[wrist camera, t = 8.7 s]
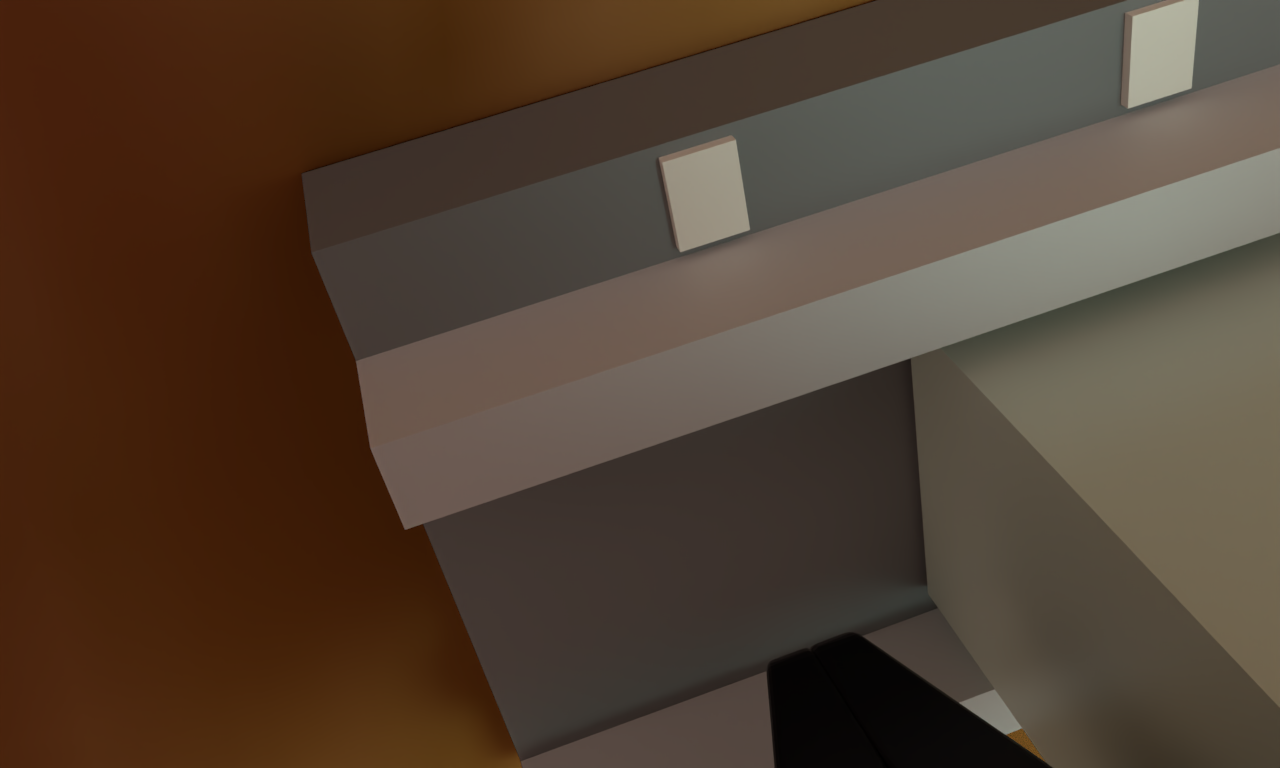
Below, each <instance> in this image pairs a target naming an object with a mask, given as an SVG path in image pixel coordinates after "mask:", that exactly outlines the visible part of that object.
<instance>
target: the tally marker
mask: <svg viewBox="0 0 1280 768" xmlns="http://www.w3.org/2000/svg"><path fill="white" fill-rule="evenodd" d="M911 368H912V382H913V396H914V409H915V423H916V437H917V451H918V464H919V478H920V492H921V505H922V519H923V533H924V546H925V560H926V574H927V587H928V594H929V596H930V597H931V599H932V600H933V601H934V603H935V604H936V606H937V607H938V609H939V610H940V611H941V613H942V614H943V616H944V617H945V619H946V620H947V622H948V623H949V624H950V626H951V627H952V629H953V630H954V632H955V633H956V634H957V636H958V637H959V639H960V640H961V642H962V643H963V644H964V646H965V647H966V649H967V650H968V652H969V653H970V654H971V656H972V657H973V659H974V660H975V662H976V663H977V664H978V666H979V667H980V669H981V670H982V672H983V673H984V674H985V676H986V677H987V679H988V680H989V682H990V683H991V684H992V686H993V687H994V689H995V690H996V692H997V693H998V694H999V696H1000V697H1001V699H1002V700H1003V702H1004V703H1005V704H1006V706H1007V707H1008V709H1009V710H1010V712H1011V713H1012V714H1013V716H1014V717H1015V719H1016V720H1017V722H1018V723H1019V724H1020V726H1021V727H1022V729H1023V730H1024V732H1025V733H1026V734H1027V736H1028V737H1029V739H1030V740H1031V742H1032V743H1033V745H1034V746H1035V747H1036V749H1037V750H1038V752H1039V753H1040V755H1041V756H1042V757H1043V759H1044V760H1045V762H1046V763H1047V764H1048V765H1050V766H1051V767H1053V768H1280V233H1277V234H1275V235H1272V236H1269V237H1266V238H1263V239H1260V240H1257V241H1254V242H1251V243H1248V244H1245V245H1242V246H1239V247H1236V248H1233V249H1230V250H1227V251H1224V252H1222V253H1219V254H1216V255H1213V256H1210V257H1207V258H1204V259H1201V260H1198V261H1195V262H1192V263H1189V264H1186V265H1183V266H1180V267H1177V268H1174V269H1171V270H1169V271H1166V272H1163V273H1160V274H1157V275H1154V276H1151V277H1148V278H1145V279H1142V280H1139V281H1136V282H1133V283H1130V284H1127V285H1124V286H1121V287H1118V288H1116V289H1113V290H1110V291H1107V292H1104V293H1101V294H1098V295H1095V296H1092V297H1089V298H1086V299H1083V300H1080V301H1077V302H1074V303H1071V304H1068V305H1066V306H1063V307H1060V308H1057V309H1054V310H1051V311H1048V312H1045V313H1042V314H1039V315H1036V316H1033V317H1030V318H1027V319H1024V320H1021V321H1018V322H1015V323H1013V324H1010V325H1007V326H1004V327H1001V328H998V329H995V330H992V331H989V332H986V333H983V334H980V335H977V336H974V337H971V338H968V339H965V340H962V341H960V342H957V343H954V344H951V345H948V346H945V347H942V348H939V349H936V350H933V351H930V352H927V353H924V354H921V355H918V356H915V357H912V358H911Z"/></svg>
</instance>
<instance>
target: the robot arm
mask: <svg viewBox="0 0 1280 768" xmlns="http://www.w3.org/2000/svg"><path fill="white" fill-rule="evenodd" d="M766 673H767V686H768V698H769V710H770V721H771V733H772V745H773V757H774V768H1053V767H1051V766H1050V765H1048V764H1047V763H1046V762H1044V761H1043V760H1041V759H1040V758H1038V757H1037V756H1035V755H1034V754H1033V753H1031V752H1030V751H1028V750H1027V749H1025V748H1024V747H1022V746H1021V745H1020V744H1018V743H1017V742H1015V741H1014V740H1012V739H1011V738H1009V737H1008V736H1006V735H1005V734H1004V733H1002V732H1001V731H999V730H998V729H996V728H995V727H993V726H992V725H991V724H989V723H988V722H986V721H985V720H983V719H982V718H980V717H979V716H978V715H976V714H975V713H973V712H972V711H970V710H969V709H967V708H966V707H965V706H963V705H962V704H960V703H959V702H957V701H956V700H954V699H953V698H951V697H950V696H949V695H947V694H946V693H944V692H943V691H941V690H940V689H938V688H937V687H936V686H934V685H933V684H931V683H930V682H928V681H927V680H925V679H924V678H923V677H921V676H920V675H918V674H917V673H915V672H914V671H912V670H911V669H909V668H908V667H907V666H905V665H904V664H902V663H901V662H899V661H898V660H896V659H895V658H894V657H892V656H891V655H889V654H888V653H886V652H885V651H883V650H882V649H881V648H879V647H878V646H876V645H875V644H873V643H872V642H870V641H869V640H867V639H866V638H865V637H863V636H861V635H860V634H857V633H854V632H847V633H843V634H841V635H838V636H835V637H833V638H830V639H827V640H825V641H822V642H819V643H817V644H815V645H813V646H812V647H811V648H810V649H808V648H804V649H800V650H798V651H795V652H792V653H790V654H787V655H784V656H782V657H779V658H776V659H774V660H772V661H770V662H769V663H768V665H767V669H766Z"/></svg>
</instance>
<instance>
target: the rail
mask: <svg viewBox="0 0 1280 768" xmlns="http://www.w3.org/2000/svg"><path fill="white" fill-rule="evenodd" d="M302 181H303V189H304V197H305V206H306V214H307V222H308V230H309V238H310V246H311V253H312V256H313V258H314V260H315V263H316V265H317V268H318V270H319V272H320V275H321V277H322V280H323V282H324V285H325V287H326V289H327V292H328V294H329V297H330V299H331V302H332V304H333V306H334V309H335V311H336V314H337V316H338V319H339V321H340V323H341V326H342V328H343V331H344V333H345V336H346V338H347V340H348V343H349V345H350V348H351V350H352V353H353V355H354V357H355V360H356V364H357V370H358V376H359V383H360V389H361V395H362V401H363V407H364V413H365V419H366V425H367V431H368V437H369V444H370V449H371V451H372V454H373V456H374V458H375V461H376V463H377V465H378V468H379V470H380V472H381V475H382V477H383V479H384V482H385V484H386V486H387V489H388V491H389V494H390V496H391V498H392V501H393V503H394V505H395V508H396V510H397V512H398V515H399V517H400V519H401V522H402V524H403V526H404V529H405V530H406V529H409V528H412V527H415V526H418V525H421V524H423V525H424V527H425V530H426V532H427V535H428V537H429V540H430V542H431V544H432V547H433V549H434V552H435V554H436V557H437V559H438V561H439V564H440V566H441V569H442V571H443V574H444V576H445V578H446V581H447V583H448V586H449V588H450V591H451V593H452V595H453V598H454V600H455V603H456V605H457V608H458V610H459V612H460V615H461V617H462V620H463V622H464V625H465V627H466V629H467V632H468V634H469V637H470V639H471V642H472V644H473V646H474V649H475V651H476V654H477V656H478V659H479V661H480V663H481V666H482V668H483V671H484V673H485V676H486V678H487V680H488V683H489V685H490V688H491V690H492V693H493V695H494V697H495V700H496V702H497V705H498V707H499V710H500V712H501V714H502V717H503V719H504V722H505V724H506V727H507V729H508V731H509V734H510V736H511V739H512V741H513V744H514V746H515V748H516V751H517V753H518V756H519V758H520V761H521V764H522V768H774V757H773V745H772V733H771V721H770V710H769V698H768V686H767V673H766V669H767V665H768V663H769V662H770V661H772V660H774V659H776V658H779V657H782V656H784V655H787V654H790V653H792V652H795V651H798V650H800V649H804V648H808V649H810V648H811V647H812V646H813V645H815V644H817V643H819V642H822V641H825V640H827V639H830V638H833V637H835V636H838V635H841V634H843V633H847V632H854V633H857V634H860V635H861V636H863V637H865V638H866V639H867V640H869V641H870V642H872V643H873V644H875V645H876V646H878V647H879V648H881V649H882V650H883V651H885V652H886V653H888V654H889V655H891V656H892V657H894V658H895V659H896V660H898V661H899V662H901V663H902V664H904V665H905V666H907V667H908V668H909V669H911V670H912V671H914V672H915V673H917V674H918V675H920V676H921V677H923V678H924V679H925V680H927V681H928V682H930V683H931V684H933V685H934V686H936V687H937V688H938V689H940V690H941V691H943V692H944V693H946V694H947V695H949V696H950V697H951V698H953V699H954V700H956V701H957V702H959V703H960V704H962V705H963V706H965V707H966V708H967V709H969V710H970V711H972V712H973V713H975V714H976V715H978V716H979V717H980V718H982V719H983V720H985V721H986V722H988V723H989V724H991V725H992V726H993V727H995V728H996V729H998V730H999V731H1001V732H1002V733H1004V734H1005V735H1006V734H1008V733H1011V732H1014V731H1016V730H1019V729H1021V728H1022V727H1021V726H1020V724H1019V723H1018V722H1017V720H1016V719H1015V717H1014V716H1013V714H1012V713H1011V712H1010V710H1009V709H1008V707H1007V706H1006V704H1005V703H1004V702H1003V700H1002V699H1001V697H1000V696H999V694H998V693H997V692H996V690H995V689H994V687H993V686H992V684H991V683H990V682H989V680H988V679H987V677H986V676H985V674H984V673H983V672H982V670H981V669H980V667H979V666H978V664H977V663H976V662H975V660H974V659H973V657H972V656H971V654H970V653H969V652H968V650H967V649H966V647H965V646H964V644H963V643H962V642H961V640H960V639H959V637H958V636H957V634H956V633H955V632H954V630H953V629H952V627H951V626H950V624H949V623H948V622H947V620H946V619H945V617H944V616H943V614H942V613H941V611H940V610H939V609H938V607H937V606H936V604H935V603H934V601H933V600H932V599H931V597H930V596H929V594H928V587H927V574H926V560H925V546H924V533H923V519H922V505H921V492H920V478H919V464H918V451H917V437H916V423H915V409H914V396H913V382H912V368H911V358H912V357H915V356H918V355H921V354H924V353H927V352H930V351H933V350H936V349H939V348H942V347H945V346H948V345H951V344H954V343H957V342H960V341H962V340H965V339H968V338H971V337H974V336H977V335H980V334H983V333H986V332H989V331H992V330H995V329H998V328H1001V327H1004V326H1007V325H1010V324H1013V323H1015V322H1018V321H1021V320H1024V319H1027V318H1030V317H1033V316H1036V315H1039V314H1042V313H1045V312H1048V311H1051V310H1054V309H1057V308H1060V307H1063V306H1066V305H1068V304H1071V303H1074V302H1077V301H1080V300H1083V299H1086V298H1089V297H1092V296H1095V295H1098V294H1101V293H1104V292H1107V291H1110V290H1113V289H1116V288H1118V287H1121V286H1124V285H1127V284H1130V283H1133V282H1136V281H1139V280H1142V279H1145V278H1148V277H1151V276H1154V275H1157V274H1160V273H1163V272H1166V271H1169V270H1171V269H1174V268H1177V267H1180V266H1183V265H1186V264H1189V263H1192V262H1195V261H1198V260H1201V259H1204V258H1207V257H1210V256H1213V255H1216V254H1219V253H1222V252H1224V251H1227V250H1230V249H1233V248H1236V247H1239V246H1242V245H1245V244H1248V243H1251V242H1254V241H1257V240H1260V239H1263V238H1266V237H1269V236H1272V235H1275V234H1277V233H1280V0H877V1H873V2H870V3H867V4H863V5H860V6H857V7H854V8H850V9H847V10H844V11H840V12H837V13H834V14H830V15H827V16H824V17H820V18H817V19H814V20H810V21H807V22H804V23H800V24H797V25H794V26H790V27H787V28H784V29H780V30H777V31H774V32H770V33H767V34H764V35H760V36H757V37H754V38H750V39H747V40H744V41H741V42H737V43H734V44H731V45H727V46H724V47H721V48H717V49H714V50H711V51H707V52H704V53H701V54H697V55H694V56H691V57H687V58H684V59H681V60H677V61H674V62H671V63H667V64H664V65H661V66H657V67H654V68H651V69H647V70H644V71H641V72H637V73H634V74H631V75H628V76H624V77H621V78H618V79H614V80H611V81H608V82H604V83H601V84H598V85H594V86H591V87H588V88H584V89H581V90H578V91H574V92H571V93H568V94H564V95H561V96H558V97H554V98H551V99H548V100H544V101H541V102H538V103H534V104H531V105H528V106H524V107H521V108H518V109H515V110H511V111H508V112H505V113H501V114H498V115H495V116H491V117H488V118H485V119H481V120H478V121H475V122H471V123H468V124H465V125H461V126H458V127H455V128H451V129H448V130H445V131H441V132H438V133H435V134H431V135H428V136H425V137H421V138H418V139H415V140H411V141H408V142H405V143H402V144H398V145H395V146H392V147H388V148H385V149H382V150H378V151H375V152H372V153H368V154H365V155H362V156H358V157H355V158H352V159H348V160H345V161H342V162H338V163H335V164H332V165H328V166H325V167H322V168H318V169H315V170H312V171H308V172H305V173H302Z"/></svg>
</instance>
